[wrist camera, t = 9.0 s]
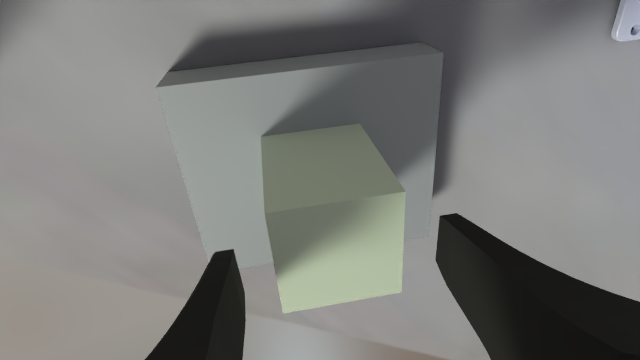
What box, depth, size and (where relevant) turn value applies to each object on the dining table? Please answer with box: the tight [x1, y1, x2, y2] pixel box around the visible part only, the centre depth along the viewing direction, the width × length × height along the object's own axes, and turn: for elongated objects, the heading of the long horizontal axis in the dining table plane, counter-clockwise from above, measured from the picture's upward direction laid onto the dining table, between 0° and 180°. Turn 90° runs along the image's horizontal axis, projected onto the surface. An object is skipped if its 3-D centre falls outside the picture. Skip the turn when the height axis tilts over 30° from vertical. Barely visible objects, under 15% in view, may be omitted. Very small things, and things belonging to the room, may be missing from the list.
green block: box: [261, 124, 406, 313], centre depth 16 cm, size 4×4×6 cm
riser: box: [156, 42, 444, 268], centre depth 19 cm, size 12×10×2 cm
